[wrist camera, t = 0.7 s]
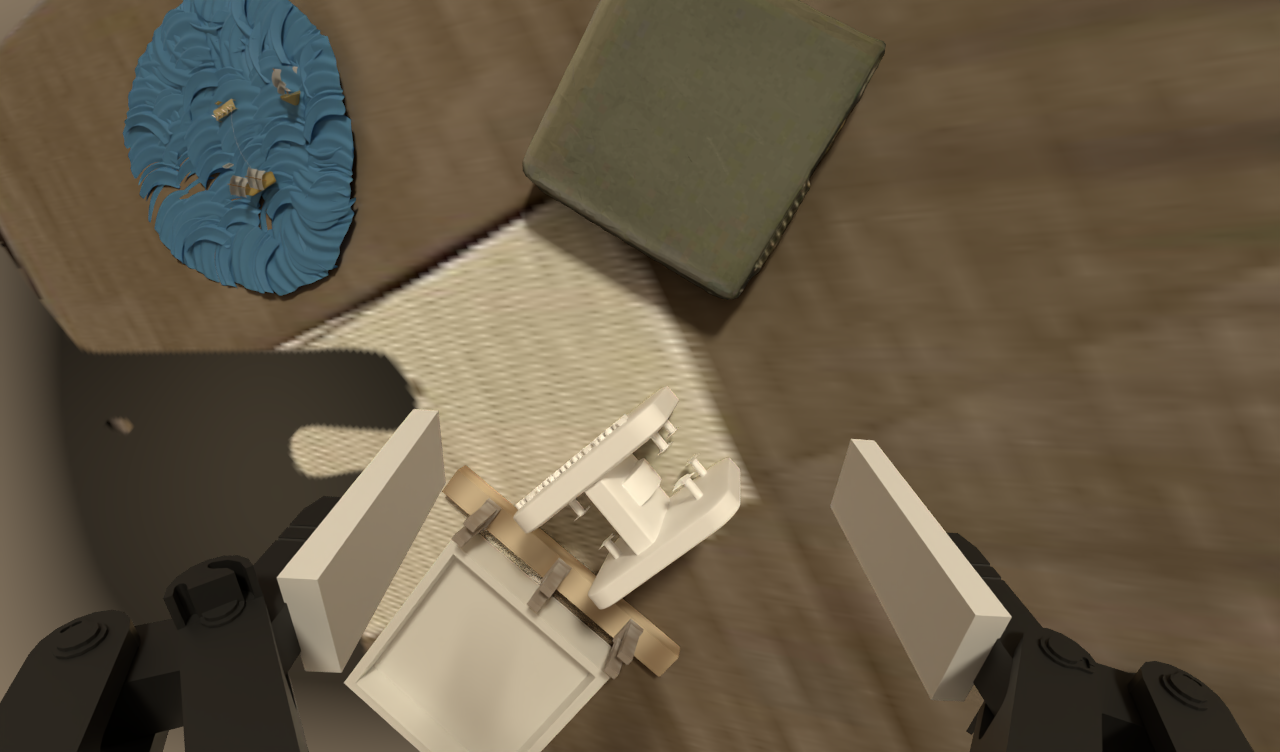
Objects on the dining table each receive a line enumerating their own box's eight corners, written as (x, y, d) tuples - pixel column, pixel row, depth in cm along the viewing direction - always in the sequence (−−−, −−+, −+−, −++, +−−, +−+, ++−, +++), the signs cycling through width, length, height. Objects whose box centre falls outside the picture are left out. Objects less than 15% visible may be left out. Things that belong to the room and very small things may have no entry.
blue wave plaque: (256, 353, 57) (207, 360, 52) (99, 128, 56) (34, 113, 51) (438, 185, 49) (401, 173, 44) (257, -81, 48) (199, -123, 43)
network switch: (760, 315, 45) (763, 316, 40) (526, 215, 47) (502, 205, 42) (889, 39, 40) (910, 2, 35) (620, -54, 43) (605, -100, 38)
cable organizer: (621, 553, 50) (587, 627, 38) (552, 470, 50) (498, 519, 39) (742, 464, 46) (743, 515, 35) (667, 375, 46) (645, 398, 35)
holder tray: (618, 652, 51) (610, 677, 48) (500, 780, 56) (485, 810, 53) (469, 524, 52) (450, 540, 49) (367, 660, 57) (343, 682, 54)
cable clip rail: (680, 647, 50) (672, 692, 44) (661, 666, 51) (651, 713, 45) (465, 465, 52) (430, 485, 46) (450, 486, 52) (414, 509, 46)
